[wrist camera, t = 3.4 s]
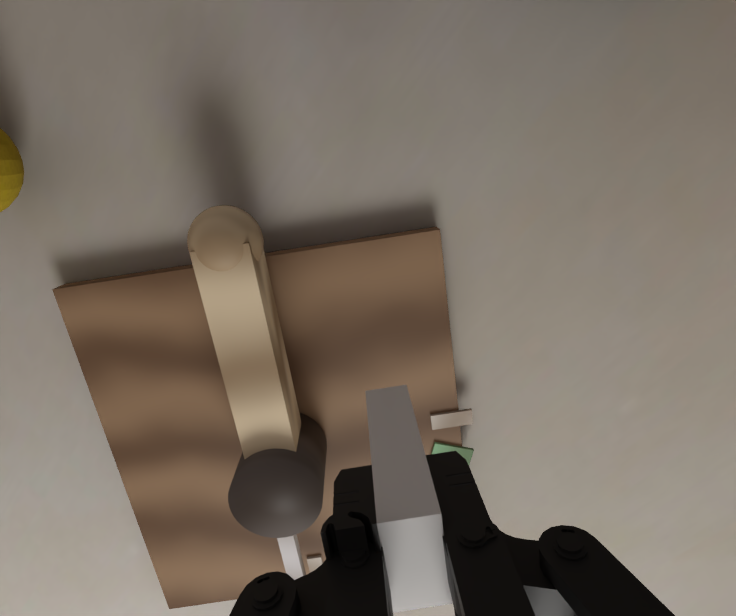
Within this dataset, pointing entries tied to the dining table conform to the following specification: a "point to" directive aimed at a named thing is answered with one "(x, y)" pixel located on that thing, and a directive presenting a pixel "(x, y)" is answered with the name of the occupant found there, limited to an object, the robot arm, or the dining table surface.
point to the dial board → (211, 404)
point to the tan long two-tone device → (258, 384)
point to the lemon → (9, 171)
